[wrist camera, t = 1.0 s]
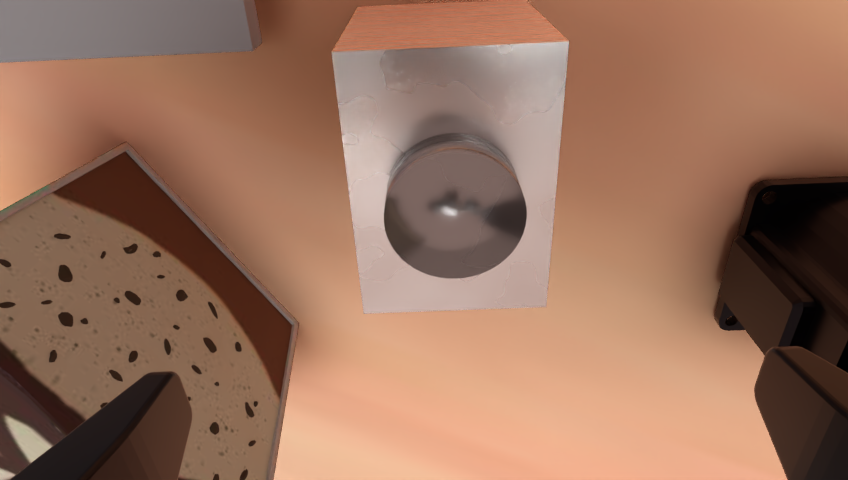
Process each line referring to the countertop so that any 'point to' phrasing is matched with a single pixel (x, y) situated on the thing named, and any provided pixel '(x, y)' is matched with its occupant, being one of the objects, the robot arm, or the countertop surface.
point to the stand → (124, 28)
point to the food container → (135, 320)
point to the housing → (451, 152)
